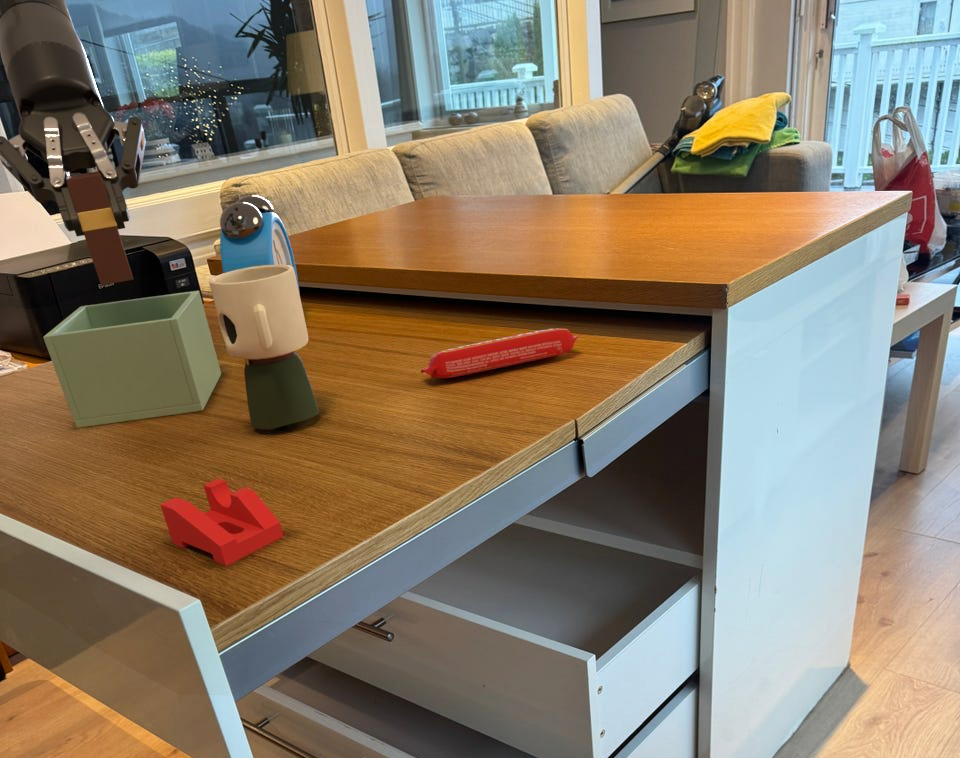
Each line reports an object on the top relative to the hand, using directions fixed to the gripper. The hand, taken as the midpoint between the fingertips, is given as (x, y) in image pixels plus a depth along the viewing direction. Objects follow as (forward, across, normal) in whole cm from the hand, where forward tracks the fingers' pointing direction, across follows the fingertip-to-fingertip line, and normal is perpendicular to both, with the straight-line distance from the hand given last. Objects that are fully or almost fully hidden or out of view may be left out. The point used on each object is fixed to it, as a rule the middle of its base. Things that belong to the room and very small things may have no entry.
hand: (99, 225), depth 82 cm
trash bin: (+11, 0, +13) cm, 17 cm away
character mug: (+23, +10, +1) cm, 25 cm away
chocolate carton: (+2, 0, +5) cm, 5 cm away
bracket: (+38, +2, -14) cm, 41 cm away
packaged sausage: (+22, +32, +2) cm, 39 cm away
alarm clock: (-3, +16, +27) cm, 32 cm away
